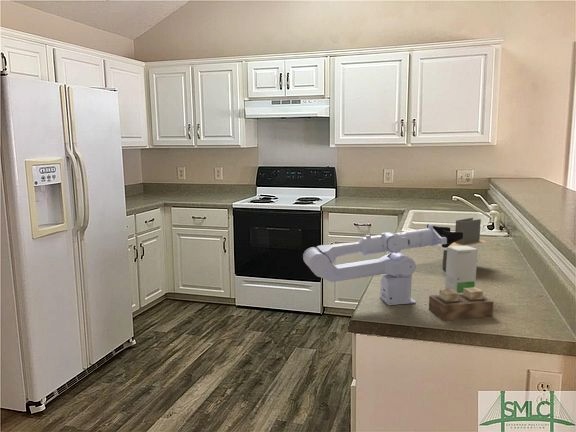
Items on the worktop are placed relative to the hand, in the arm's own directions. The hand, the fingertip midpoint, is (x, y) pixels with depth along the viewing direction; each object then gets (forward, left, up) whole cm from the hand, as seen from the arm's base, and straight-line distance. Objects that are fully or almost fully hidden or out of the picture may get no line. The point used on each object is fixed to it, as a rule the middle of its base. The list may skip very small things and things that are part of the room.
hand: (455, 232), depth 157 cm
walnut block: (-6, -14, -22) cm, 26 cm away
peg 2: (-2, -14, -19) cm, 24 cm away
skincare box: (+5, +4, -22) cm, 23 cm away
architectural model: (+21, +30, -22) cm, 43 cm away
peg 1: (-10, -14, -19) cm, 25 cm away
